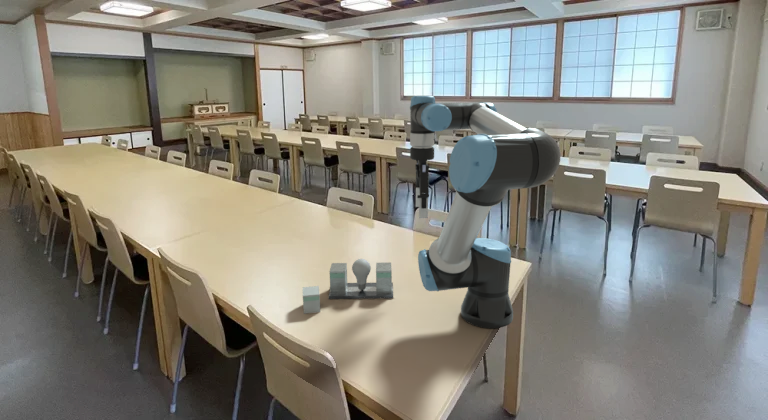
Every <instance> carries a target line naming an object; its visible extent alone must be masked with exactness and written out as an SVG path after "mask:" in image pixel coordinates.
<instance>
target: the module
mask: <svg viewBox="0 0 768 420" xmlns="http://www.w3.org/2000/svg"><path fill="white" fill-rule="evenodd" d="M320 295H321V294H320V286H319V285H315V286H314V285H313V286H303V287H302V307H303V314H313V313H321V297H320Z"/></svg>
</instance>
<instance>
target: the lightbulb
mask: <svg viewBox="0 0 768 420" xmlns="http://www.w3.org/2000/svg"><path fill="white" fill-rule="evenodd" d="M371 269H372V267H371V264H370V262H369V261H368V260H367V259H364V258H358V259H355V260H354V262H353V263H352V265H351V271H352V273H353V276H355V279H356V283H358V289H359V290H364V289H365V288H366V283H368V282H367V281H368V280H367V279H368V276H369V275H370V273H371Z"/></svg>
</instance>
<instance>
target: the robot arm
mask: <svg viewBox="0 0 768 420" xmlns="http://www.w3.org/2000/svg"><path fill="white" fill-rule="evenodd" d="M409 110H410V121H409V122H410V123H409V124H410V127H409V128H410V132H409V135H410V136H409V145H410V146H411V147H410V149H409V151H410V152H409V155H410V156H409V158H410V159H411V160H413V161H415V162H416V164H415V166H414V167H415V168H414V169H415V182H414V183H415V208H418V219H428V218H429V197H430V194H429V193H430V192H429V177H430V176H429V170H430V166H429V164H428V162H427V161H432V160H434V158H435V148H434V146H435V140H436V139H437V135H435V132H442V131H447V130H449V131H451V130H452V131H453V130H456V131H457V130H471V131H473V132H474V133H475V134H473V135H466V136H463V137H462V138H460V139H459V140H458V141H457V142H456V143H455V144H454V146H453V148H452V151H451V153H450V156H449V163H450V164H449V167H448V173H449V174H448V176H449V180H450V184H451V185H452V188H453V189H454V190H455V196H454V198H453V201H452V203H451V206H450V208H449V211H448V213H447V217H446V219H445V222H444V225H443V227H442V230H441V232H440V235H439V238H435V240H433V242H431V244H430V246H429V248H428V249H426V248H425V249H423V250H422V249H421V250H419V252H418V254H417V255H418V257H417V260H418V261H417V263H418V264H417V265H418V271H419V276H420V279H421V283H422V286H423V287H424V289H425V291H428V292H442V291H450V290H456V289H457V290H458V289H465V288H467V290H466V294H465V295H464V298H463V301H462V303H461V306H460V316H461V318H462V319H463V320H464V322H466V323H468V324H470V325H473V326H476V327H479V328H483V329H500V328H503V327H504V328H505V327H507V326H509V325H510V324H511V323H512V322H513V319H514V309H513V305H512V302H511V298H510V295H509V291H510V290H509V288H510V277H511V276H510V273H511V263H512V256H511V255H512V252H511V249H510V247H509V245H507V244H505V243H504V242H503V241H500V240H497V239H493V238H486V237H478V236H479V233H480V231H481V230H482V227H483V225H484V223H485V222H486V219H487V217H488V215H489V213H490V211H491V209H492V208H493V207H495V206H497V205H499V204H500V203H501V202H502V201H503V200H504V199H505V196H506V195H507V193H508V191H510V190H519V189H532V188H536V187H538V186H539V187H540V186H541V185H543V184H545V183H546V182H548V181H550V180H551V178H553V176H554V175H555V174H556V172H557V171H558V169H559V166H560V163H561V149H560V147H559V144H558V143H557V141H556V140H555V138H553V136H551V135H550V134H548V133H547V132H545V131H543V130H541V129H539V128H535V127H534V128H533V127H529V128H526V126H523V125H521V124H519V123H517V122H515V121H513V120H512V119H509V118H507V117H506V116H504V115H502V114H500V113H498V112H497V111H498V110H497V107H496V106H495V104H494V103H492V102H484V101H479V102H463V103H462V102H456V103H455V102H448V103H447V102H445V103H443V102H441V103H440V102H439V103H437V102H436V98H435V96H434V95H414V96H411V98H410V106H409Z"/></svg>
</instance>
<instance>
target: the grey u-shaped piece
mask: <svg viewBox="0 0 768 420" xmlns="http://www.w3.org/2000/svg"><path fill="white" fill-rule="evenodd" d="M347 264H348V263H347V262H331V265H330V268H329V271H328V272H329V289H330V290H329V292H328V293H329V294H328V300H351V299H353V300H354V299H355V300H360V299H361V300H363V299H368V300H369V299H373V300H375V299H394V284H393V283H394V282H393V281H392V278H393V277H392V274H393V273H392V270H393V269H392V262H390V261H389V262H376V263H375V278H376V279H375V282H366V288H365V289H364V290H359V289H358V283H357V282H348V267H347Z"/></svg>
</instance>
